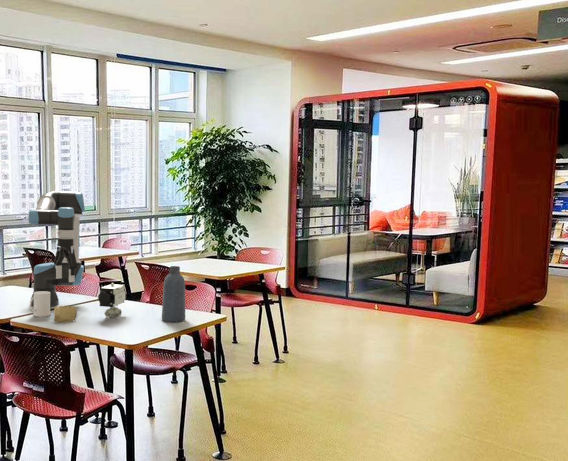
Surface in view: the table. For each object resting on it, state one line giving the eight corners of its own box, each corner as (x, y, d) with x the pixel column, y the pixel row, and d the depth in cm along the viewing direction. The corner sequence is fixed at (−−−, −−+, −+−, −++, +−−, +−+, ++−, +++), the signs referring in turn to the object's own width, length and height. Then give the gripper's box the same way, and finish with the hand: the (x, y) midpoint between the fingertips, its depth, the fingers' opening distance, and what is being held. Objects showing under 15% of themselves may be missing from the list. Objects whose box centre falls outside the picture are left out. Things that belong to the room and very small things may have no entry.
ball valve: (112, 320, 317) (113, 286, 315) (97, 319, 318) (97, 285, 317) (128, 313, 334) (128, 281, 333) (113, 312, 336) (114, 280, 335)
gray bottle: (159, 318, 326) (161, 265, 324) (182, 317, 331) (183, 265, 328) (163, 323, 315) (165, 268, 313) (187, 322, 319) (188, 268, 317)
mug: (34, 318, 315) (34, 295, 314) (24, 316, 319) (24, 293, 318) (54, 315, 324) (54, 292, 324) (43, 312, 329) (44, 290, 328)
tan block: (54, 320, 312) (54, 307, 312) (72, 318, 319) (72, 304, 319) (59, 322, 308) (60, 309, 308) (77, 320, 315) (78, 306, 314)
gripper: (47, 236, 316) (46, 277, 317) (70, 240, 299) (70, 284, 300) (61, 236, 321) (60, 276, 323) (84, 240, 304) (84, 282, 306)
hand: (65, 280), depth 311 cm, fingers open, 13 cm apart
